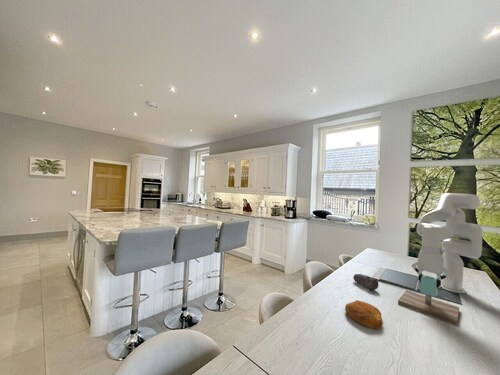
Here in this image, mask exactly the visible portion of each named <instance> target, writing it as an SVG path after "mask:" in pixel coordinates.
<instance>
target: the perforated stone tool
mask: <svg viewBox="0 0 500 375" xmlns="http://www.w3.org/2000/svg"><path fill="white" fill-rule="evenodd" d="M353 281H354V282H355V283H356V284H358V285H360V286H361V287H363V288H365V289H369V290H370V291H373V290H377V289H378V288H379V281H378V279H376V278H374V277H371V276H369V275H365V274H361V273H355V274H354V275H353Z"/></svg>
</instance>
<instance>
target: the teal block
mask: <svg viewBox="0 0 500 375" xmlns="http://www.w3.org/2000/svg"><path fill="white" fill-rule="evenodd" d="M422 274H423V275H422V276H421V283H420V291H419V292H420V293H421V294H424V295H426V294H427V295H430V296H432V297H434V298H436V297H437V295H438V288H437V287H436V286H437V278H438V277H437V276H436V277H434V276H431V275H428V274H425V273H422Z"/></svg>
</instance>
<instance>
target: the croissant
mask: <svg viewBox="0 0 500 375" xmlns="http://www.w3.org/2000/svg"><path fill="white" fill-rule="evenodd" d="M344 310H345V313H346V315H348V316H349V317H350V318H352V319H354V320H355V321H356V322H357V323H359V324H361V325H363V326H365V327H368V328H371V329H376V330H378V329H380V328H381V327H382V326H383V324H384V321H383V318H382V312H381V311H380V310H379V308H377V307H376V306H375V305H372V304H371V303H368V302H365V301H361V300H358V299H357V300H354V301H351V302H348V303H346V304H345V307H344Z"/></svg>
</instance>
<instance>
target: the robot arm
mask: <svg viewBox="0 0 500 375" xmlns="http://www.w3.org/2000/svg"><path fill="white" fill-rule="evenodd" d="M480 203H481V200H480V197H479V196H478V195H476V194H471V193H457V192H456V193H455V192H446V193H443V194H441V195H440V197H439V199H438V201H437V203H436V206H435V208H434V210H431V211H428V212H427V213H425V214H424V215H422V216H421V217H420V219H419V221H418V222H417V225H416V233H417V234H418V235H419V236H421V249H420V250H419V252H418V256H417V261H416V262H414V263H412V264H411V265H410V266H411V267H412V269H414V271H415V272H416V273H417V275H418V279H417V280H418V281H419V283H420V284H421V276H422V275H423V274H424V273H423V272H427V273H431V274H434V275H436V278H437V286H436V287H437V289H438V288H439V286H441V285H442V288H441V289H443V290H446V291H449V292H452V293H455V294H466V293H467V290H466V289H465V288H463V286H464V285H463V281H464V280H463V279H464V265H465V263H464V261H463V259H462V257H466V258H471V259H479V258H481V256H482V252H483V236H484V235H483V229H482V226H481V225H479V224H476V223H471V222H466V214H465V212H464V210H462V209H466V210H476V209H478V208H479V206H480ZM443 221H445V225H441V224H435V223H434V222H443ZM452 237H453V238H452ZM454 237H455V238H454ZM459 238H460V239H459ZM461 238H462V239H461ZM465 239H466V240H465ZM468 240H469V241H468ZM461 256H462V257H461Z"/></svg>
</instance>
